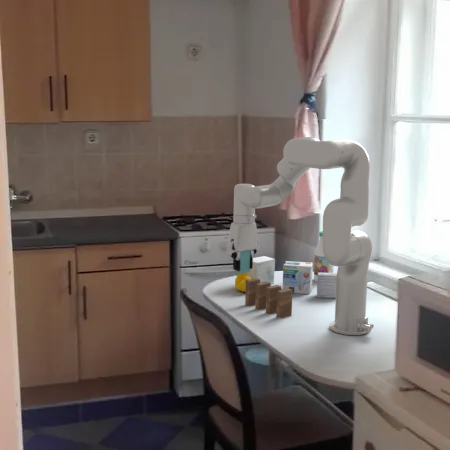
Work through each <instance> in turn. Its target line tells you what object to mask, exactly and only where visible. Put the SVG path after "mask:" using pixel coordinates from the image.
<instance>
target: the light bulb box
mask: <svg viewBox="0 0 450 450" xmlns="http://www.w3.org/2000/svg"><path fill="white" fill-rule="evenodd" d="M282 266H283V267H282V268H283V269H282V287H281V290H284V289H291V290H292V294H301V295H303V294H304V295H310V294H311V293H312V290H313V277H314V262H308V261H307V262H304V261H293V260H292V261H290V260H289V261H288V260H285V263H283V265H282Z"/></svg>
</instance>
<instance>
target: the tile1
mask: <svg viewBox="0 0 450 450" xmlns="http://www.w3.org/2000/svg"><path fill="white" fill-rule="evenodd" d="M292 313H293V293H292V290H291V289H284V290H282V289H281V290H279V291H277V313H276V318H278V319H284V318H287V317H292Z"/></svg>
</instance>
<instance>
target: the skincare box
mask: <svg viewBox="0 0 450 450" xmlns="http://www.w3.org/2000/svg"><path fill="white" fill-rule="evenodd" d="M275 263H276V258H273V257H269V256H265V255H262V256H257V257H254V258H253V268H252V269H250V272H248V275H247V277H250V278H251V279H255V278H258V279H260V283H262V282H270V283H271V286H273V285H275V270H276V269H275V267H276V266H275V265H276V264H275ZM272 284H273V285H272Z"/></svg>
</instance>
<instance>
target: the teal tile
mask: <svg viewBox="0 0 450 450" xmlns="http://www.w3.org/2000/svg"><path fill="white" fill-rule="evenodd" d="M236 255H237V252H236ZM239 260H240V271H236V272H235V274H236V273H237V274H242V273H248V272H250V250H249V251H242V252H241V253H240V257H239Z"/></svg>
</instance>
